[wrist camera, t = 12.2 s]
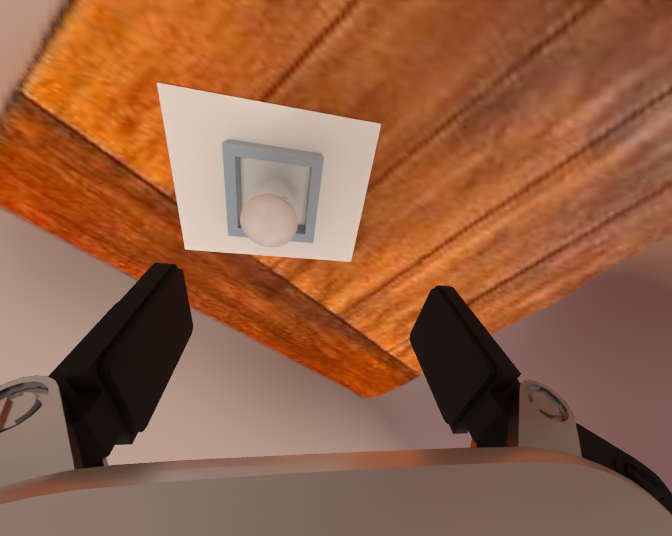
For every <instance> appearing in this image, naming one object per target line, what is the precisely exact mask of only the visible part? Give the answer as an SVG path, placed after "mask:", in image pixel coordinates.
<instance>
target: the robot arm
mask: <svg viewBox="0 0 672 536" xmlns="http://www.w3.org/2000/svg"><path fill="white" fill-rule="evenodd" d="M192 330H193V322H192V317H191V311H190V306H189V301H188V295H187V290H186V285H185V279H184V274H183V271H182V269H178V268H177V266H176V265H175V264H166V263H155V264H153V265H152V266H151V267H150V268H149V270H148V271H147V272H146V273H145V274H144V275H143V276H142V277H141V278H140V279H139V280H138V282H137V283H136V284H135V285H134V286H133V287H132V288H131V289H130V290H129V291H128V293H127V294H126V295H125V296H124V297H123V298H122V299H121V300H120V301H119V302H117V303H116V304H115V305H114V306H113V307H112V308H111V309H110V310H109V311H108V312H107V314H106V315H105V316H104V317H103V318H102V319H101V320H100V321H99V322H98V323H97V324H96V325H95V327H94V328H93V329H92V330H91V331H90V332H89V333H88V334H87V335H86V336H85V337H84V338H83V339H82V341H81V342H80V343H79V344H78V345H77V346H76V347H75V348H74V349H73V350H72V351H71V353H70V354H69V355H68V356H67V357H66V358H65V359H64V360H63V361H62V362H61V363H60V365H58V367H57V368H56V369H55V370H54V371H53V372H52V373H51V374H50V375H49V376H37V375H36V376H29V377H23V378H20V379H17V380H13V381H10V382H7V383H5V384H3V385H0V536H672V494H671V492H670V491H669V489H668V488H667V487H666V485H665V484H664V483H663V482H662V481H661V479H660V478H659V477H658V476H657V475H656V474H655V473H654V472H652V471H651V470H650V469H649V468H647V467H646V466H645V465H643V464H642V463H641V462H639V461H638V460H636V459H635V458H633V457H632V456H630V455H628V454H626V453H625V452H623V451H622V450H620V449H618V448H617V447H615V446H614V445H612V444H610V443H609V442H607V441H605V440H604V439H602V438H600V437H599V436H597V435H596V434H594V433H592V432H591V431H589V430H587V429H586V428H584V427H582V426H581V425H579V424H577V423H576V421H575V417H574V414H573V411H572V410H571V408H570V407H569V406H568V404H567V402H566V401H565V400H564V399H563V398H562V397H561V396H560V395H558V394H557V393H556V392H555V391H554V390H552V389H551V388H549V387H547V386H546V385H544V384H542V383H539V382H537V381H532V380H525V381H523V382H522V383H520V382H519V381H518V380H517V378H518V377H519V376H520V375H521V373H520V372H519V371H518V370H517V368H516V367H515V366H514V364H513V363H512V362H511V361H510V359H509V358H508V357H507V355H506V354H505V353H504V352H503V350H502V349H501V348H500V346H499V345H498V344H497V343H496V341H495V340H494V339H493V338H492V336H491V335H490V334H489V332H488V331H487V330H486V329H485V327H484V326H483V325H482V324H481V322H480V321H479V320H478V318H477V317H476V316H475V315H474V313H473V312H472V311H471V309H470V308H469V307H468V306H467V304H466V303H465V302H464V301H463V299H462V298H461V297H460V295H459V294H458V293H457V292H456V290H455V289H454V288H453V287H451V286H439V285H438V286H436V287H435V288H434V289H432V290H431V291H430V293H429V295H428V297H427V299H426V301H425V303H424V306H423V308H422V310H421V312H420V314H419V316H418V318H417V321H416V323H415V325H414V327H413V329H412V331H411V334H410V342H411V345H412V347H413V349H414V352H415V354H416V356H417V359H418V361H419V363H420V366H421V368H422V370H423V373H424V375H425V377H426V379H427V382H428V384H429V386H430V389H431V391H432V393H433V396H434V398H435V400H436V403H437V405H438V407H439V409H440V412H441V414H442V416H443V418H444V420H445V422H446V423H447V424H449V425H450V428H451V430H452V432H453V433H454V434H458V433H467V432H468V431H469V432H470V434H471V436H472V441H471V447H470V448H450V449H426V450H425V449H424V450H399V451H375V452H353V453H329V454H306V455H285V456H264V457H245V458H244V457H243V458H223V459H203V460H184V461H169V462H155V463H139V464H124V465H111V466H108V462H107V458H106V457H107V456H109V454H110V453H111V451H112V449H113V447H114V445H121V444H132V443H133V441H134V439H135V437H136V435H137V433H138V432H142V431H144V430H145V428H146V427H147V425H148V423H149V421H150V419H151V417H152V415H153V413H154V411H155V408H156V406H157V404H158V402H159V400H160V398H161V396H162V394H163V392H164V390H165V388H166V386H167V384H168V382H169V380H170V377H171V375H172V373H173V371H174V369H175V367H176V365H177V363H178V361H179V359H180V357H181V355H182V353H183V351H184V348H185V346H186V344H187V342H188V340H189V338H190V336H191V334H192Z"/></svg>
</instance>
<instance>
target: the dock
mask: <svg viewBox="0 0 672 536" xmlns="http://www.w3.org/2000/svg"><path fill="white" fill-rule="evenodd" d="M157 87H158V93H159V99H160V105H161V111H162V116H163V122H164V128H165V134H166V140H167V146H168V152H169V158H170V163H171V169H172V175H173V181H174V187H175V193H176V199H177V205H178V210H179V216H180V222H181V228H182V234H183V240H184V246H185V250H198V251H212V252H225V253H239V254H252V255H265V256H279V257H292V258H306V259H319V260H332V261H346V262H351V259H352V255H353V250H354V246H355V241H356V237H357V232H358V228H359V223H360V219H361V214H362V210H363V205H364V200H365V196H366V191H367V187H368V182H369V178H370V173H371V169H372V164H373V160H374V155H375V151H376V146H377V141H378V137H379V132H380V128H381V124H379V123H374V122H368V121H363V120H358V119H352V118H347V117H341V116H336V115H331V114H325V113H320V112H314V111H309V110H304V109H298V108H293V107H287V106H282V105H276V104H271V103H266V102H260V101H255V100H249V99H244V98H239V97H233V96H228V95H222V94H217V93H212V92H206V91H201V90H195V89H190V88H185V87H179V86H174V85H168V84H163V83H157ZM271 179H278V180H283V181H284V182H285V183H286V184H287V185H288V186H289V187H290V188H291V194H292V200H293V204H294V208H295V211H296V215H297V220H298V228H297V231H296V233H295V235H294V236H293V238H292V239H291V240H290V241H289V242H288V243H287V244H285V245H283V246H279V247H265V246H261V245H259V244H257V243H255V242H253V241H251V240H250V239H249V238H248V236H247V235H246V234H245V232H244V231H243V229H242V227H241V224H240V215H241V211H242V209H243V207H244V205H245V204H246V203H247V202H248V201H249V200H250V199H251V198H252V197H253V196H254V195H255V194H256V192H257V191H258V190H259V189H260V188H261V186H262V185H263V184H264V183H265V182H267V181H269V180H271Z"/></svg>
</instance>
